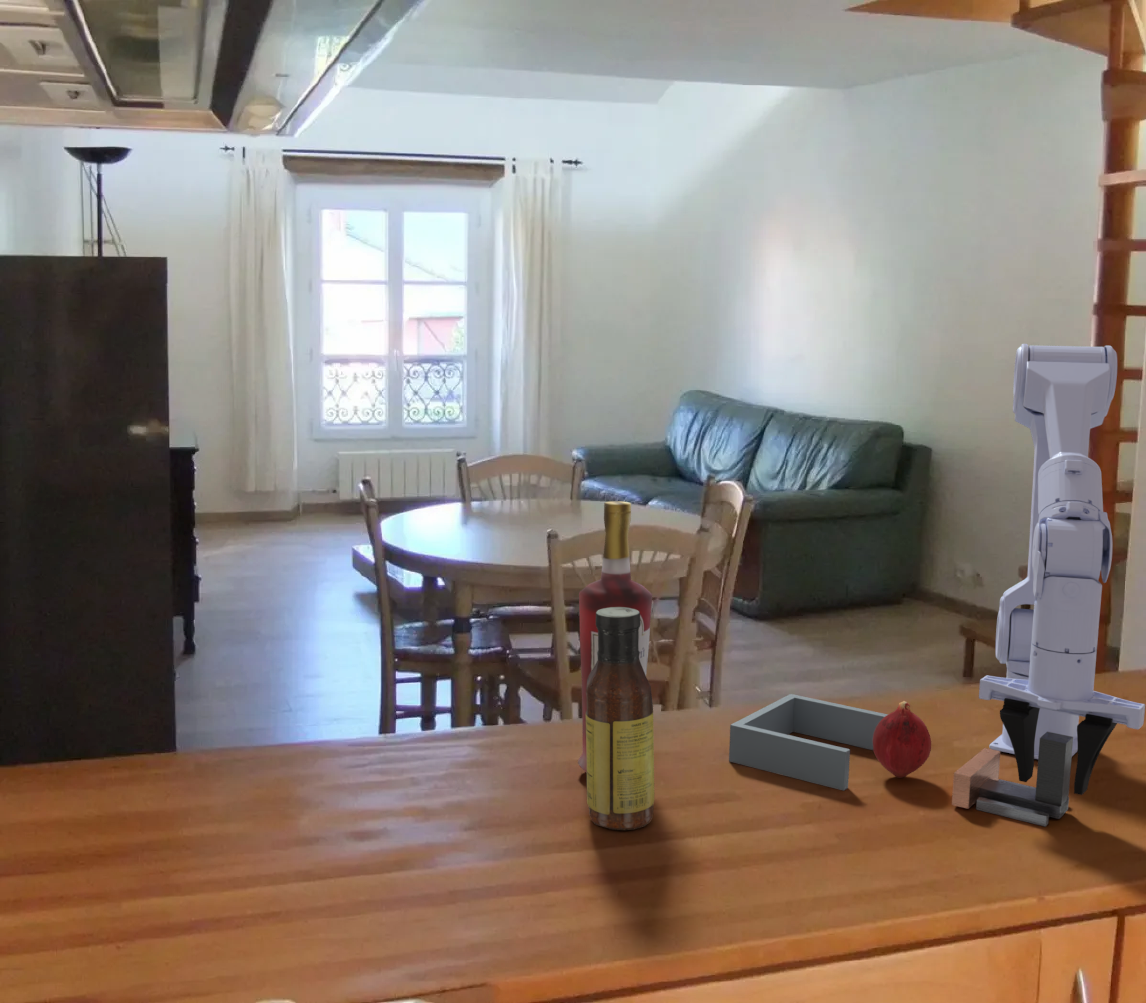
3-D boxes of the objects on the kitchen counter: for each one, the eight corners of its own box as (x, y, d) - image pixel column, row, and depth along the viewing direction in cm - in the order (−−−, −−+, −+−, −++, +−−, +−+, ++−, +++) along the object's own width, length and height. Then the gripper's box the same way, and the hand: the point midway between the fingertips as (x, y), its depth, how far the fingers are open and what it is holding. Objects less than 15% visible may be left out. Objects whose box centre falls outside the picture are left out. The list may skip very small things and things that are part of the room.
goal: (788, 727, 142) (790, 693, 141) (897, 752, 134) (899, 717, 134) (728, 761, 131) (730, 724, 130) (843, 790, 123) (845, 752, 122)
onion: (931, 790, 123) (935, 713, 122) (871, 785, 125) (876, 708, 123) (926, 770, 129) (931, 696, 128) (869, 765, 130) (873, 691, 129)
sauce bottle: (661, 812, 117) (667, 607, 114) (643, 838, 111) (649, 622, 108) (595, 802, 119) (599, 600, 116) (574, 827, 113) (578, 615, 110)
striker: (982, 778, 126) (987, 709, 125) (1076, 799, 121) (1082, 728, 120) (951, 804, 119) (956, 732, 118) (1050, 829, 114) (1056, 753, 113)
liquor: (631, 759, 131) (638, 497, 127) (658, 784, 124) (666, 507, 120) (566, 765, 128) (570, 499, 124) (589, 791, 122) (595, 510, 117)
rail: (998, 788, 124) (999, 779, 124) (1065, 804, 120) (1066, 794, 120) (976, 809, 119) (976, 799, 119) (1045, 826, 115) (1046, 816, 115)
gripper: (972, 641, 117) (963, 779, 119) (1137, 669, 108) (1124, 817, 110) (996, 627, 122) (986, 758, 124) (1154, 652, 114) (1141, 793, 116)
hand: (1052, 785), depth 118 cm, fingers open, 4 cm apart
